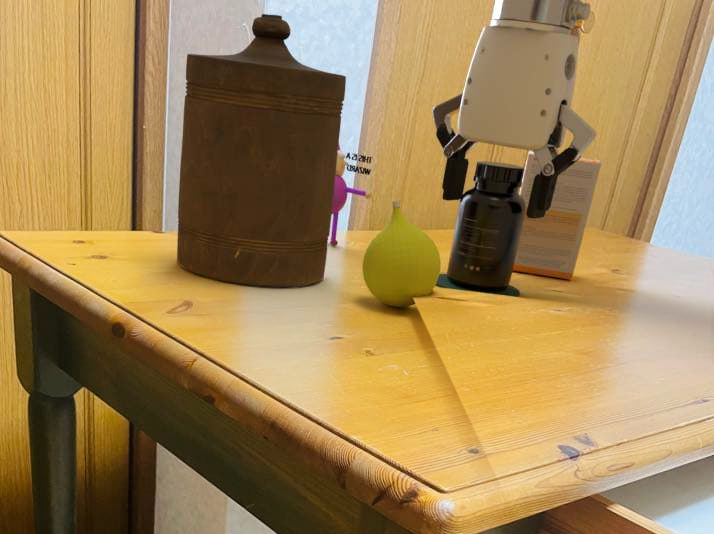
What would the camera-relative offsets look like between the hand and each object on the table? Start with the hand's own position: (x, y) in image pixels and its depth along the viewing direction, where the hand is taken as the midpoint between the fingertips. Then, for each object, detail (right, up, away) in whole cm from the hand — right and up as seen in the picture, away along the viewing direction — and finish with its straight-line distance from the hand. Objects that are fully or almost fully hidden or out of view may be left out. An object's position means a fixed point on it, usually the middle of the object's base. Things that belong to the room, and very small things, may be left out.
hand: (492, 208), depth 87 cm
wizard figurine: (-17, +1, +15) cm, 23 cm away
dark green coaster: (-1, -7, +4) cm, 8 cm away
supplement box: (+9, -2, +16) cm, 18 cm away
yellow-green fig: (-11, -13, -8) cm, 18 cm away
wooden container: (-25, -7, -2) cm, 26 cm away
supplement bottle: (-1, -7, +4) cm, 8 cm away
